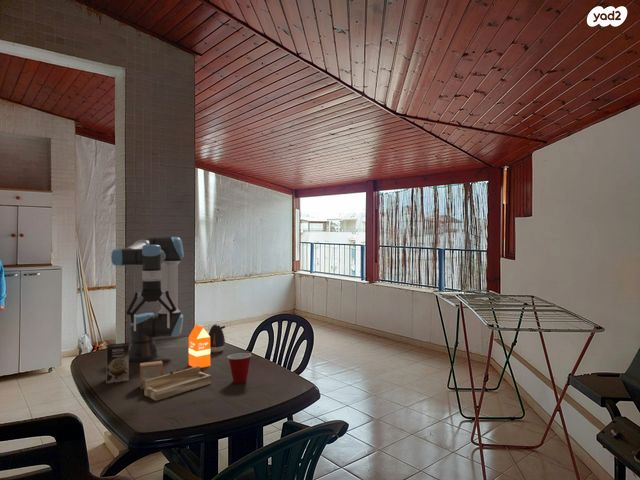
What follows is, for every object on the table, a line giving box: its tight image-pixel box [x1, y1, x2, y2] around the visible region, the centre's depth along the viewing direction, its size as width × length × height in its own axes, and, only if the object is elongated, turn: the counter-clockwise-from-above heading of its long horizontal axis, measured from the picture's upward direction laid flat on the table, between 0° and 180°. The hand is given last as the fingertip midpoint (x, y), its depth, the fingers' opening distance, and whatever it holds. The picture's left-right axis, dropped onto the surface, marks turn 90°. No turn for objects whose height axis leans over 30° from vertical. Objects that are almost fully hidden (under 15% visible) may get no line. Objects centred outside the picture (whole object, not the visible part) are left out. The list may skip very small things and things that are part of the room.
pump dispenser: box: [208, 323, 226, 353], centre depth 242 cm, size 10×10×15 cm
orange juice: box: [188, 324, 211, 369], centre depth 216 cm, size 8×9×20 cm
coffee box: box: [105, 342, 130, 384], centre depth 194 cm, size 9×6×16 cm
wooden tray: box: [143, 366, 212, 401], centre depth 183 cm, size 9×26×7 cm, turn 140°
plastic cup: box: [226, 352, 252, 384], centre depth 193 cm, size 11×11×12 cm
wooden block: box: [139, 360, 164, 391], centre depth 186 cm, size 5×9×10 cm, turn 115°
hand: (151, 329), depth 186 cm, fingers open, 13 cm apart
